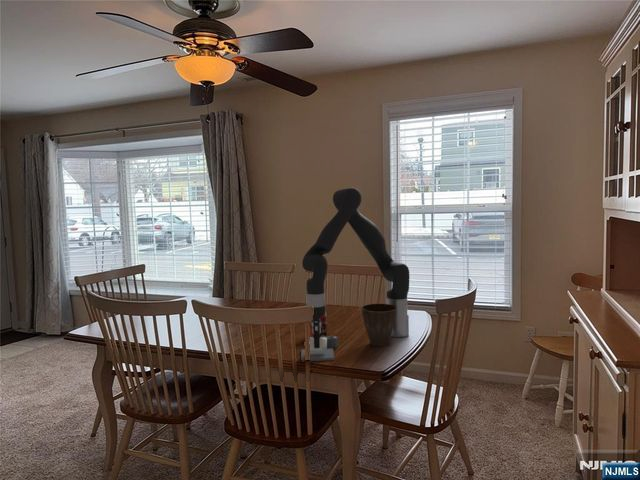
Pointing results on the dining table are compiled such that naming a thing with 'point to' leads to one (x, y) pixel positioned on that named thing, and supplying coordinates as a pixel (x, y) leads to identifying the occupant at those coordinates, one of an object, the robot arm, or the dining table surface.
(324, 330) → the canned food
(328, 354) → the felt pad
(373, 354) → the dining table surface
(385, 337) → the plant pot
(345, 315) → the dining table surface
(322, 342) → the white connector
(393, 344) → the dining table surface
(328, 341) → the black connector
